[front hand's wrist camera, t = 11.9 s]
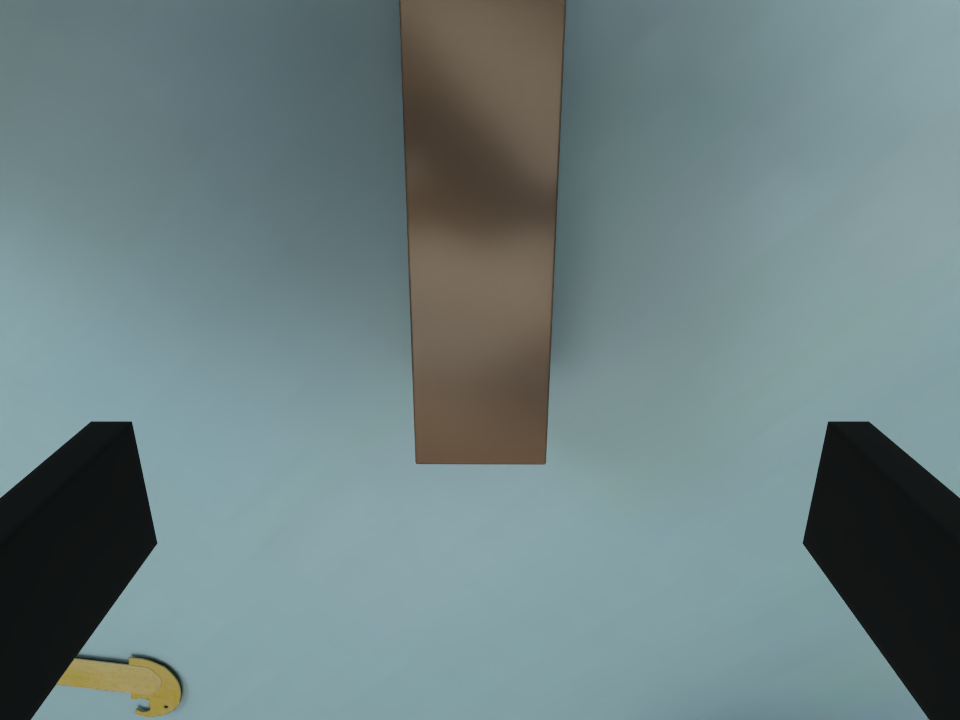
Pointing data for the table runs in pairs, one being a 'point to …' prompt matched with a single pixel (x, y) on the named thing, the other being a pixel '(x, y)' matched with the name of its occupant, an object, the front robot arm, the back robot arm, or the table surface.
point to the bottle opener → (128, 681)
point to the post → (481, 222)
